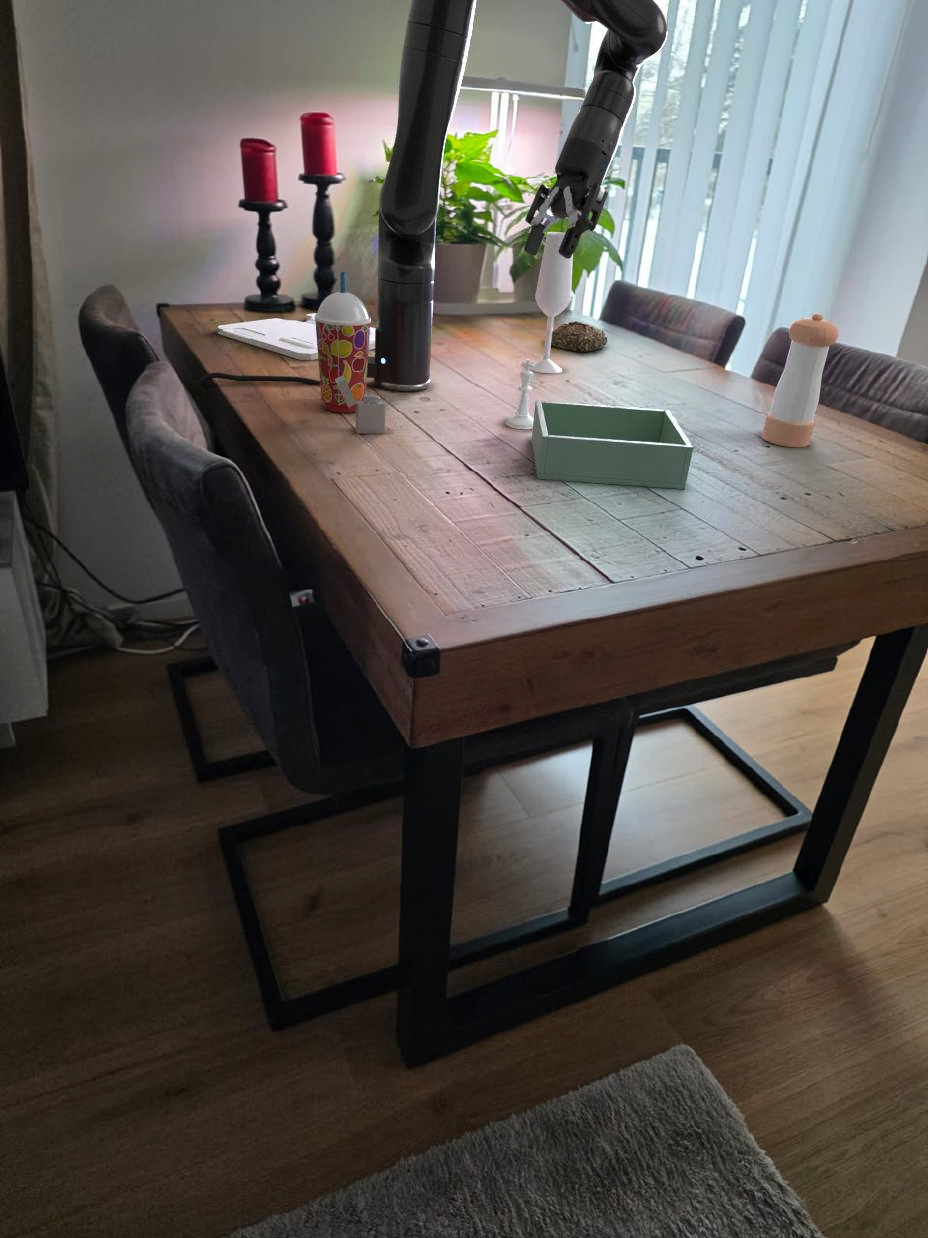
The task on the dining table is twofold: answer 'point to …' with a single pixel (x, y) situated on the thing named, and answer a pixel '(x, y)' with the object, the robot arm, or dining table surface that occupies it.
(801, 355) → the pepper shaker
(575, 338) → the bread roll
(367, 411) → the lighter
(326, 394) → the smoothie
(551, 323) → the champagne flute
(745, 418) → the dining table surface
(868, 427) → the dining table surface
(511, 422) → the chess piece
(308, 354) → the tray
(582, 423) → the open box
